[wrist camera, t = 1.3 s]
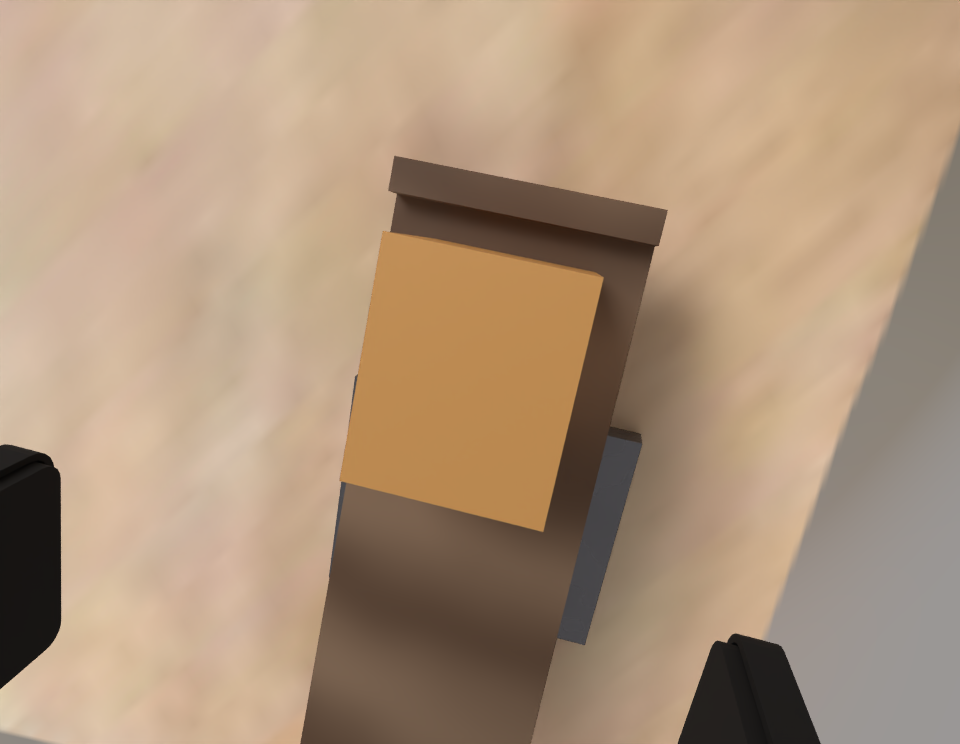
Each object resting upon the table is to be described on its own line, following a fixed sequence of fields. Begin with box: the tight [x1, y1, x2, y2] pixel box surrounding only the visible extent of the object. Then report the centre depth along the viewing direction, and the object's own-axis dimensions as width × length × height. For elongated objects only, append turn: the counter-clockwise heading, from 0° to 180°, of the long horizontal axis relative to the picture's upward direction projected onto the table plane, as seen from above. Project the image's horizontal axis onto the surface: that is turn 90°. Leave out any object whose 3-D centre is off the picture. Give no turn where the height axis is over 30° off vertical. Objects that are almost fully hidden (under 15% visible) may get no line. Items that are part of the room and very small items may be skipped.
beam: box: [301, 156, 668, 744], centre depth 23 cm, size 28×8×2 cm, turn 169°
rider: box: [340, 231, 604, 532], centre depth 18 cm, size 6×5×6 cm
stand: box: [329, 375, 642, 645], centre depth 29 cm, size 18×12×6 cm, turn 170°
